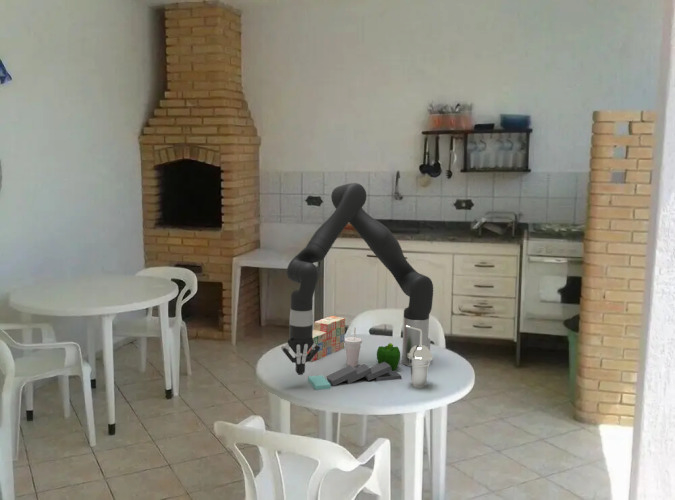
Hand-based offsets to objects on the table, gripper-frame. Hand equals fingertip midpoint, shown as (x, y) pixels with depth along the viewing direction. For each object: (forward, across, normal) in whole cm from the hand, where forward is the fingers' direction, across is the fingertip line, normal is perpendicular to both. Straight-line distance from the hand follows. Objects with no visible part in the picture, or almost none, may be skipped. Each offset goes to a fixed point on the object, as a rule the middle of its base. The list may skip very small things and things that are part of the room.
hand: (300, 373), depth 210 cm
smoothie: (+4, -23, -15) cm, 28 cm away
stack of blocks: (+4, -17, -31) cm, 36 cm away
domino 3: (+3, -16, 0) cm, 16 cm away
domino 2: (+3, -10, 0) cm, 11 cm away
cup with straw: (+4, -38, +9) cm, 39 cm away
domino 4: (+3, -23, -1) cm, 23 cm away
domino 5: (+4, -26, 0) cm, 26 cm away
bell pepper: (+4, -34, -8) cm, 35 cm away
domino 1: (+4, -7, +5) cm, 9 cm away
